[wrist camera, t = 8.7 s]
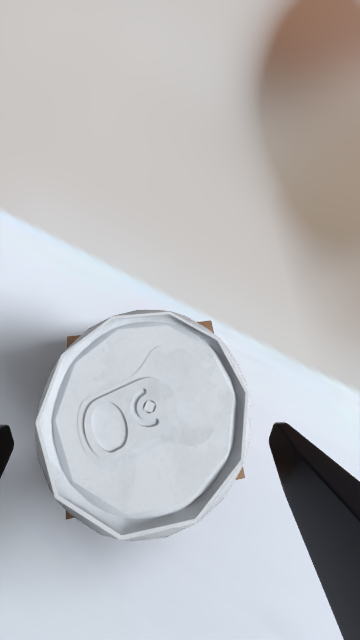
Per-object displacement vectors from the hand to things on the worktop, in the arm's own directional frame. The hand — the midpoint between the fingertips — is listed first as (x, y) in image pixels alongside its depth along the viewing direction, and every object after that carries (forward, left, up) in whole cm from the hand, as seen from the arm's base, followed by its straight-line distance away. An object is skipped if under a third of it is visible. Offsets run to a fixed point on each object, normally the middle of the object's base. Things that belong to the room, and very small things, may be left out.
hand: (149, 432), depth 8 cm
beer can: (+1, 0, -8) cm, 8 cm away
